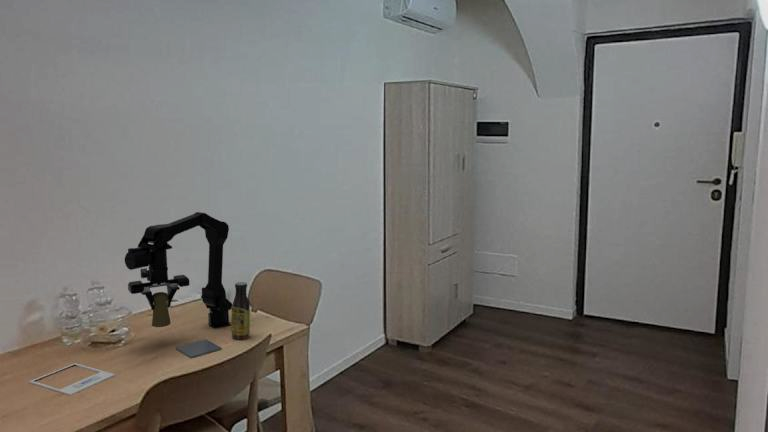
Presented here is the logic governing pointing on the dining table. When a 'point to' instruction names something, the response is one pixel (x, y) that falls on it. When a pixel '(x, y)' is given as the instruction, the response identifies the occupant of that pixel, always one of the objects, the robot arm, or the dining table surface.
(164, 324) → the dark olive bulbous piece
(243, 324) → the sauce bottle
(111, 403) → the dining table surface
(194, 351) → the slate coaster
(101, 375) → the photo frame
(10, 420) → the dining table surface
